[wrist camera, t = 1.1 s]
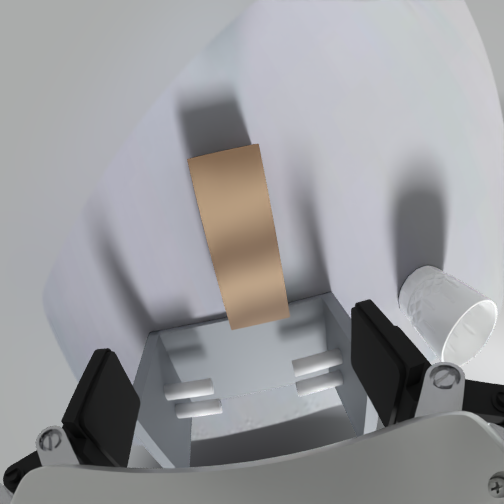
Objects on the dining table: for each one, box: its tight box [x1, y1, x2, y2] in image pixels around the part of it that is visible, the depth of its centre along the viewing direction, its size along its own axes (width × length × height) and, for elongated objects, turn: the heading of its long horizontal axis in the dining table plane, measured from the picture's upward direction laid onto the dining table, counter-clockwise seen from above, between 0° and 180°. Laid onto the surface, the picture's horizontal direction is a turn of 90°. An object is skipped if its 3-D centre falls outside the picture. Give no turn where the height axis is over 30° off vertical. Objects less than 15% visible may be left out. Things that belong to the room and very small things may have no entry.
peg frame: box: [133, 292, 378, 468], centre depth 26 cm, size 19×11×12 cm, turn 102°
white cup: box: [398, 265, 497, 367], centre depth 26 cm, size 8×8×10 cm
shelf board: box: [187, 144, 290, 330], centre depth 24 cm, size 14×5×5 cm, turn 11°
